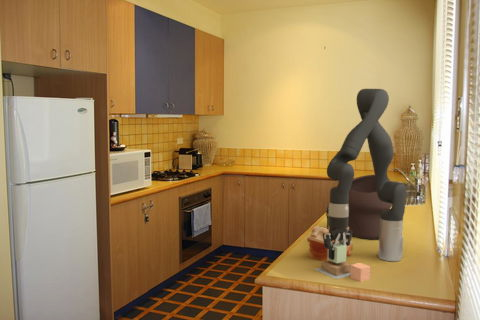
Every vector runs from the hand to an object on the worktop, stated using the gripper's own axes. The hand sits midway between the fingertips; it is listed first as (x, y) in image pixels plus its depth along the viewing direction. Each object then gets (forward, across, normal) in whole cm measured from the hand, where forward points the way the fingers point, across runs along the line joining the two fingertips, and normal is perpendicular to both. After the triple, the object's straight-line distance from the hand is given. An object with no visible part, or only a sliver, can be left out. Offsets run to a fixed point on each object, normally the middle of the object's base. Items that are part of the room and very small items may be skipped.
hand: (336, 257), depth 176 cm
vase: (+7, +55, +34) cm, 65 cm away
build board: (+6, 0, 0) cm, 6 cm away
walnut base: (+5, 0, 0) cm, 5 cm away
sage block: (+1, 0, 0) cm, 1 cm away
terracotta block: (+7, +2, -10) cm, 12 cm away
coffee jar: (+7, +29, +29) cm, 42 cm away
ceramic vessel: (+7, +12, +16) cm, 21 cm away
